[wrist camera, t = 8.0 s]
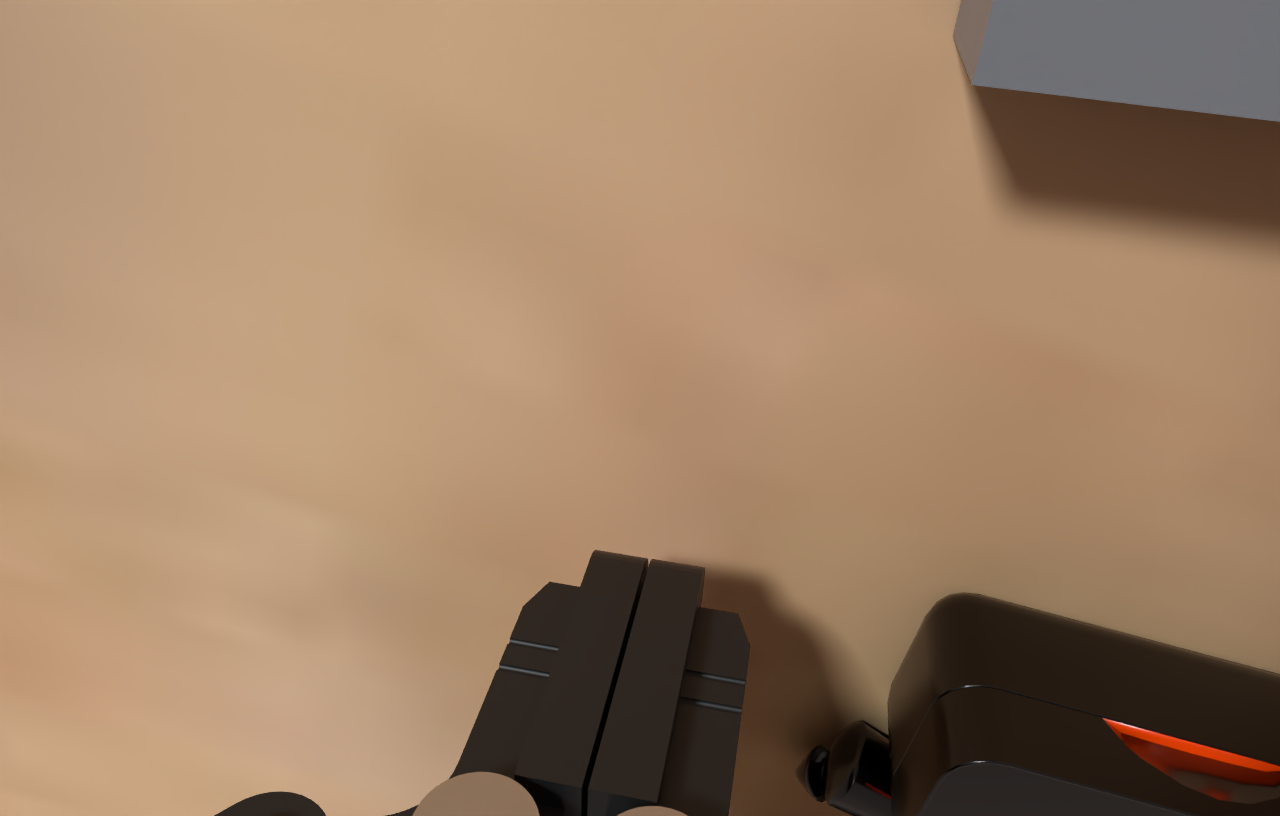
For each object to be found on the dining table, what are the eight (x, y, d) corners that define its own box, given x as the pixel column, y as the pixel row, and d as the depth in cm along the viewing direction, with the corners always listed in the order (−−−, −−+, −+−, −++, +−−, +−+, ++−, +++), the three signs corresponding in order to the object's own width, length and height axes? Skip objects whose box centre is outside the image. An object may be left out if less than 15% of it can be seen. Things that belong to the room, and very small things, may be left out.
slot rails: (989, -118, 9) (1018, -99, 7) (2341, 11, 8) (2735, 68, 6) (747, 895, 19) (736, 1002, 17) (1339, 1028, 17) (1389, 1157, 16)
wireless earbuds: (882, 550, 14) (888, 730, 11) (1378, 681, 14) (1509, 902, 11) (795, 746, 17) (784, 931, 14) (1210, 861, 16) (1281, 1075, 13)
